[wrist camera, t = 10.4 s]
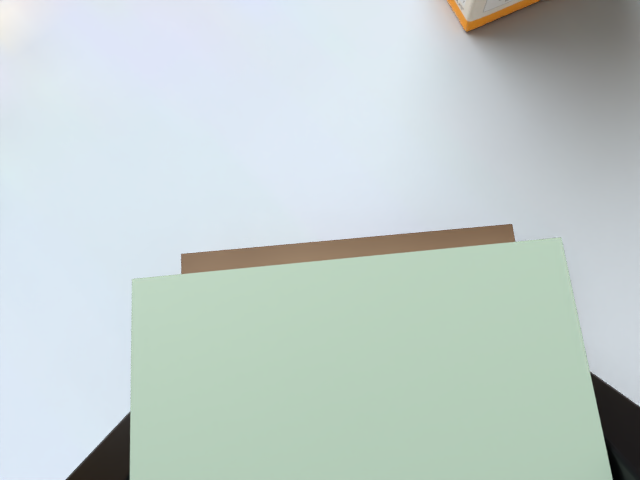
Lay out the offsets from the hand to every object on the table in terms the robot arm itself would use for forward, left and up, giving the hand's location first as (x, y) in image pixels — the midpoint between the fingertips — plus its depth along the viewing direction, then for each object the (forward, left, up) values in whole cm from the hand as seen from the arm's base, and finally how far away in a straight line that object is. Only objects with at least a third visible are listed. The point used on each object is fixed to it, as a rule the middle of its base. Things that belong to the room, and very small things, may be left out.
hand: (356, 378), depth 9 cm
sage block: (-1, 0, -7) cm, 7 cm away
